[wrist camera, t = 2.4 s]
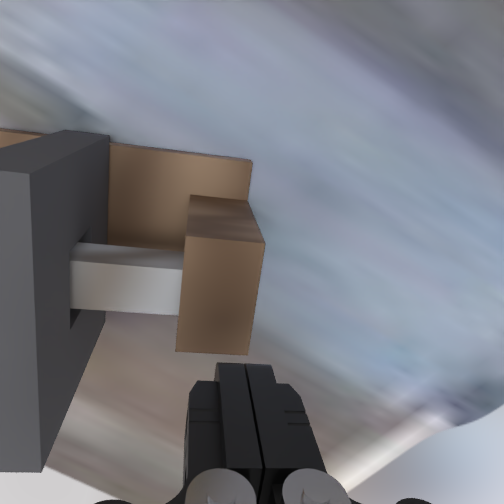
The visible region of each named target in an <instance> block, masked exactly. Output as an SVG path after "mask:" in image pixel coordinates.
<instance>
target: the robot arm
mask: <svg viewBox="0 0 504 504" xmlns="http://www.w3.org/2000/svg"><path fill="white" fill-rule="evenodd" d="M95 504H131V503H129V502H126V501H122V500H105V501H101V502H97V503H95ZM166 504H361V503H358V502H356V501H354V500H352V499H350V498H349V497H348V495H347V493H346V491H345V489H344V488H343V487H342V485H341V484H340V483H339V482H338V481H337V480H336V479H334V478H333V477H332V476H330V475H329V474H327V471H326V469H325V466H324V463H323V460H322V457H321V454H320V451H319V448H318V446H317V443H316V440H315V437H314V434H313V431H312V428H311V426H310V423H309V420H308V417H307V414H305V408H304V405H303V403H302V400H301V397H300V396H299V394H298V393H297V392H296V391H295V390H294V389H293V388H292V387H291V386H290V385H289V384H278V383H276V380H275V376H274V373H273V369H272V366H271V365H266V364H241V363H218V362H217V364H216V370H215V378H214V381H197V382H196V384H195V385H194V387H193V388H192V390H191V391H190V393H189V401H188V410H187V419H186V429H185V438H184V471H183V488H182V490H181V491H180V493H179V494H178V495H177V496H176V497H175V498H173V499H172V500H171V501H169V502H168V503H166ZM396 504H431V503H429V502H426V501H424V500H420V499H415V498H406V499H402V500H401V501H398V502H397V503H396Z"/></svg>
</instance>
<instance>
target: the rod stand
mask: <svg viewBox="0 0 504 504" xmlns="http://www.w3.org/2000/svg"><path fill="white" fill-rule="evenodd" d="M45 135H49V134H42V133H34V132H26V131H18V130H10V129H2V128H0V148H2V147H6V146H9V145H13V144H16V143H20V142H24V141H27V140H31V139H34V138H38V137H41V136H45ZM252 164H253V163H252V161H251V160H248V159H240V158H232V157H225V156H217V155H209V154H201V153H193V152H185V151H177V150H169V149H161V148H153V147H145V146H137V145H129V144H121V143H113V142H109V183H108V226H107V245H103V244H92V243H81V242H77V243H76V245H75V246H74V247H73V248H72V249H71V251H70V308H73V309H88V310H103V311H118V312H133V313H148V314H163V315H177V316H178V327H177V338H176V349H175V352H193V353H212V354H230V355H248V350H249V344H250V338H251V331H252V325H253V319H254V313H255V306H256V300H257V294H258V287H259V281H260V275H261V268H262V262H263V256H264V249H265V241H264V239H263V237H262V234H261V232H260V229H259V227H258V225H257V222H256V220H255V218H254V215H253V213H252V210H251V208H250V206H249V203H248V201H247V200H248V193H249V185H250V178H251V171H252Z"/></svg>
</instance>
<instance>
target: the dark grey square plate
mask: <svg viewBox="0 0 504 504" xmlns="http://www.w3.org/2000/svg"><path fill="white" fill-rule="evenodd" d="M109 140H110V136H109V135H101V134H94V133H86V132H78V131H70V130H63V131H59V132H56V133H52V134H49V135H45V136H41V137H38V138H34V139H31V140H27V141H24V142H20V143H16V144H13V145H9V146H6V147H2V148H0V472H40V473H41V472H42V470H43V468H44V465H45V463H46V461H47V458H48V456H49V453H50V451H51V449H52V446H53V444H54V441H55V439H56V437H57V434H58V432H59V430H60V427H61V425H62V422H63V420H64V418H65V415H66V413H67V411H68V408H69V406H70V403H71V401H72V399H73V396H74V394H75V392H76V389H77V387H78V384H79V382H80V380H81V377H82V375H83V373H84V370H85V368H86V365H87V363H88V361H89V358H90V356H91V354H92V351H93V349H94V346H95V344H96V342H97V339H98V337H99V335H100V332H101V330H102V327H103V325H104V323H105V311H103V310H88V309H73V308H70V251H71V249H72V248H73V247H74V246H75V245H76V243H77V242H81V243H92V244H103V245H107V226H108V183H109Z"/></svg>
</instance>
